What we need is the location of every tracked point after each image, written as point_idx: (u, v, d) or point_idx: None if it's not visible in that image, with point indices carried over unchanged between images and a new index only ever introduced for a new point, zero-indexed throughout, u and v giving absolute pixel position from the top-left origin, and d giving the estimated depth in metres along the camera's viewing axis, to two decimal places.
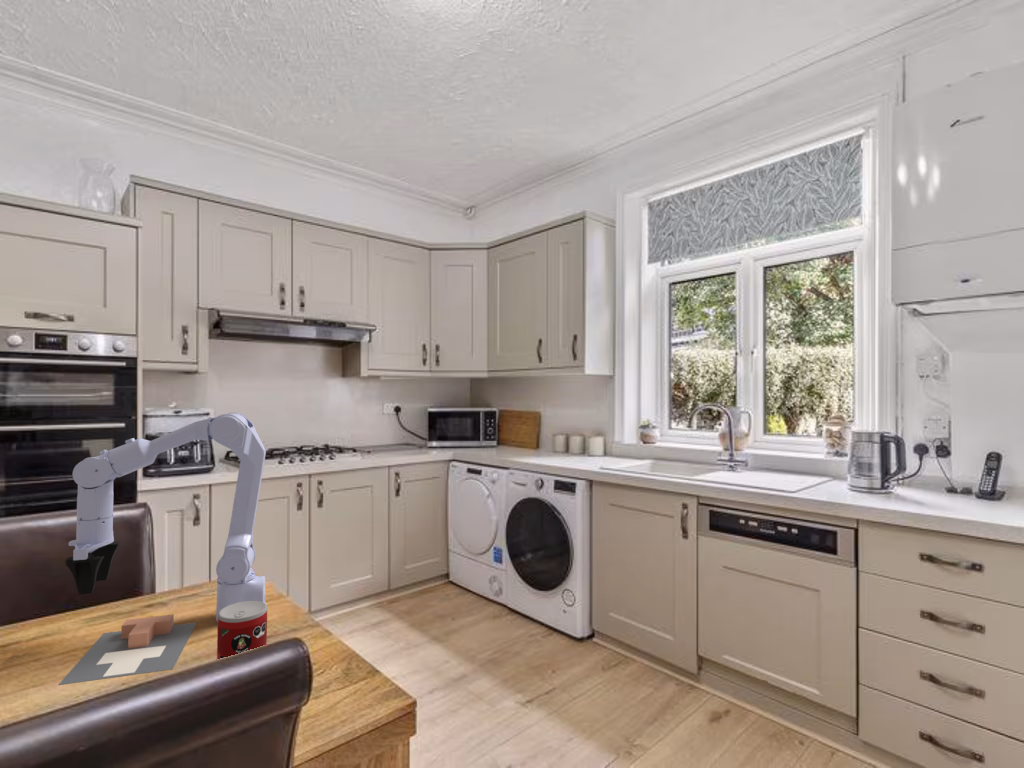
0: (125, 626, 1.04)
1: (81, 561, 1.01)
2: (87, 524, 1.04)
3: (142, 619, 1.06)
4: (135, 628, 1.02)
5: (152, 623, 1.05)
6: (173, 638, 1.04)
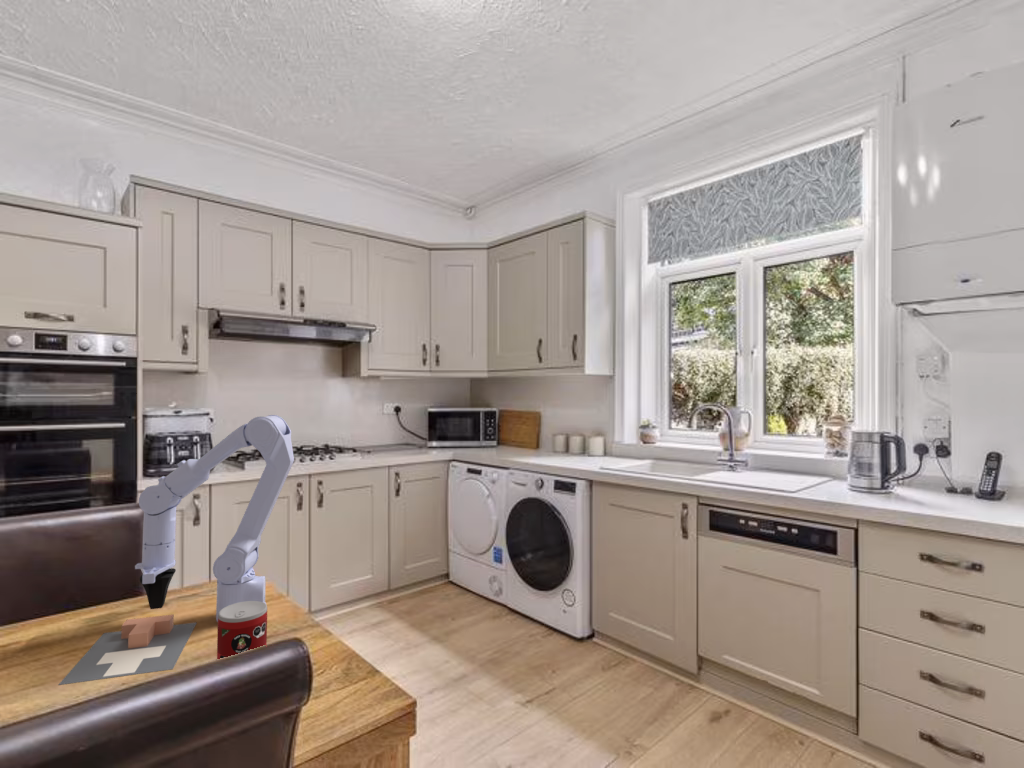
0: (125, 626, 1.04)
1: None
2: (153, 549, 1.10)
3: (142, 619, 1.06)
4: (135, 628, 1.02)
5: (152, 623, 1.05)
6: (173, 638, 1.04)
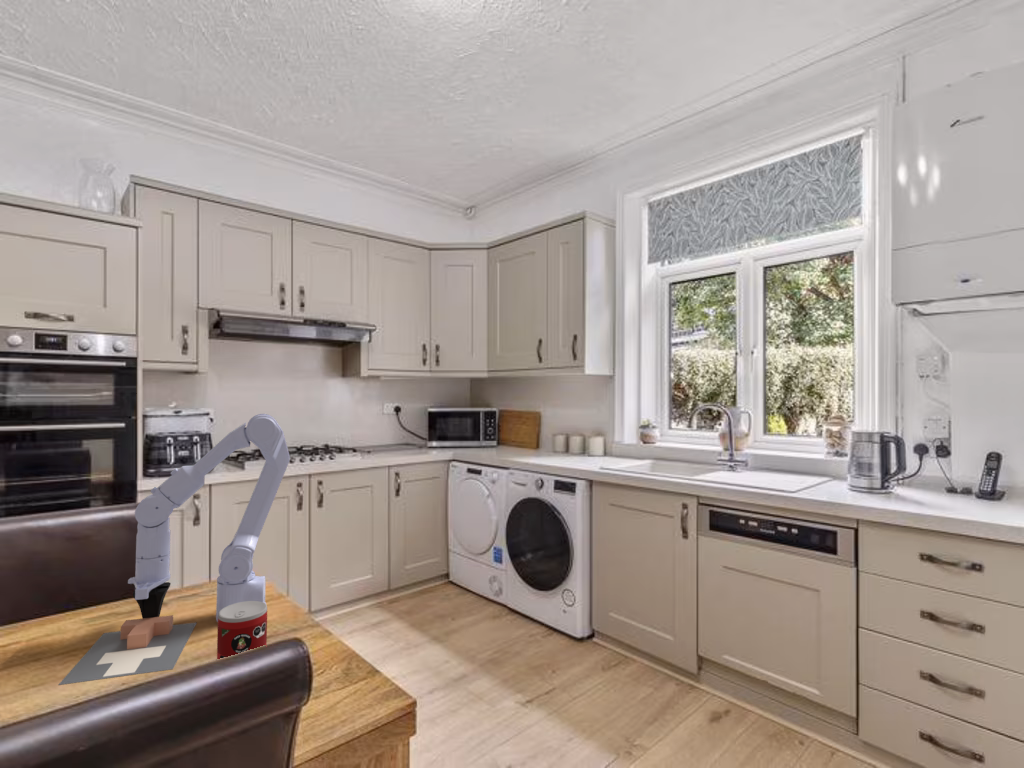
0: (124, 627, 1.03)
1: None
2: (146, 562, 1.06)
3: (142, 620, 1.06)
4: (134, 629, 1.02)
5: (151, 624, 1.04)
6: (173, 638, 1.04)
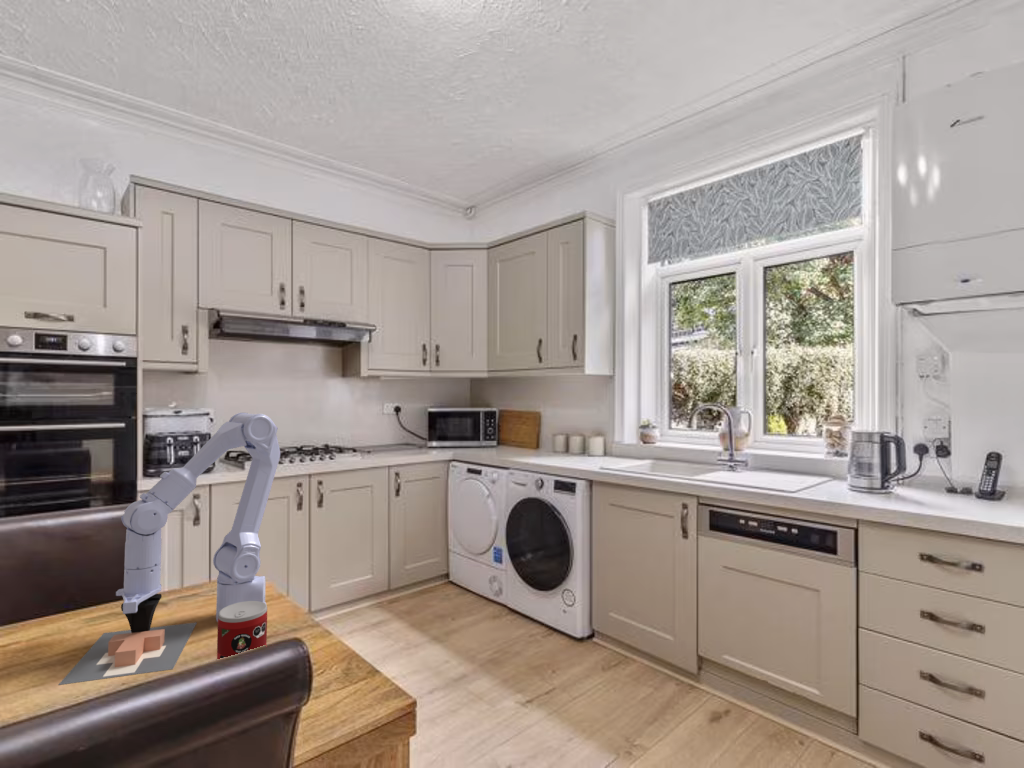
0: (112, 642, 0.97)
1: None
2: (136, 573, 0.99)
3: (131, 634, 1.00)
4: (123, 645, 0.96)
5: (141, 639, 0.98)
6: (173, 638, 1.04)
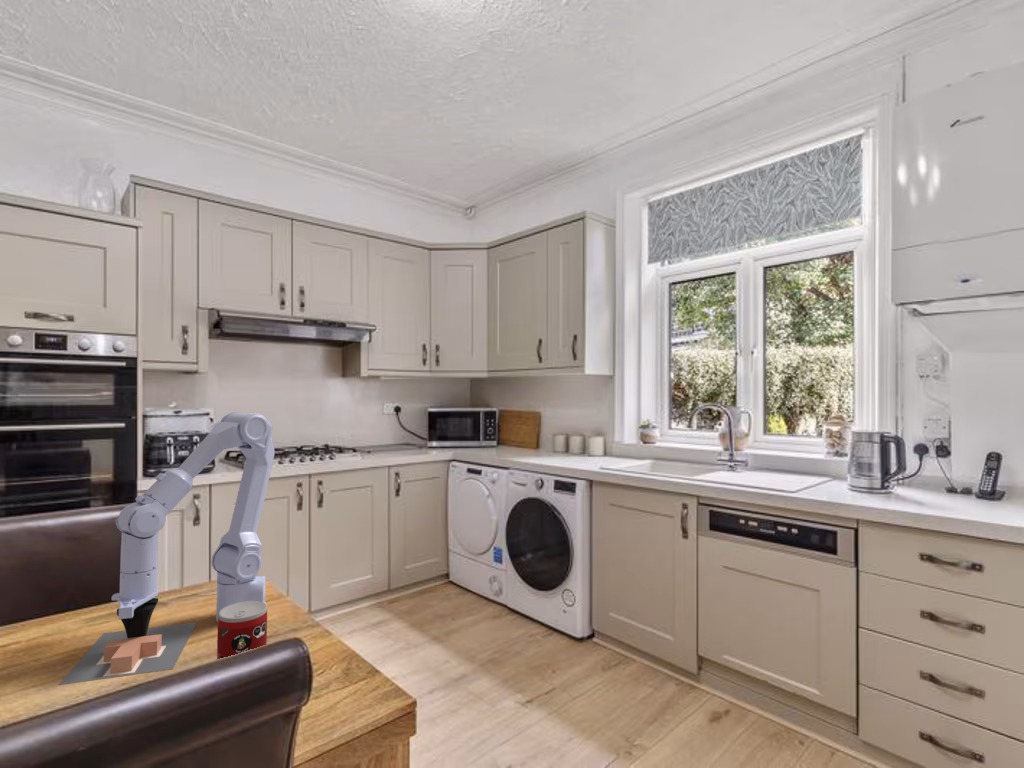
0: (108, 648, 0.95)
1: None
2: (132, 578, 0.97)
3: (127, 639, 0.98)
4: (119, 650, 0.93)
5: (138, 644, 0.96)
6: (173, 638, 1.04)
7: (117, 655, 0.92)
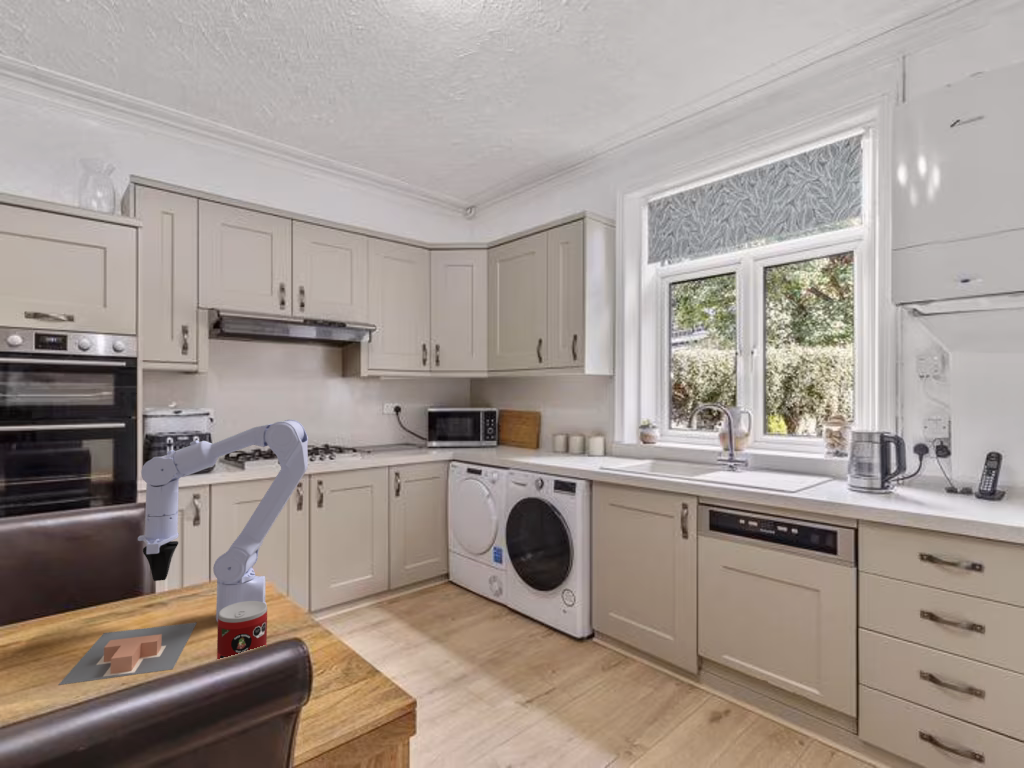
0: (108, 648, 0.95)
1: None
2: (156, 520, 1.10)
3: (127, 639, 0.98)
4: (119, 650, 0.93)
5: (138, 644, 0.96)
6: (173, 638, 1.04)
7: (117, 655, 0.92)
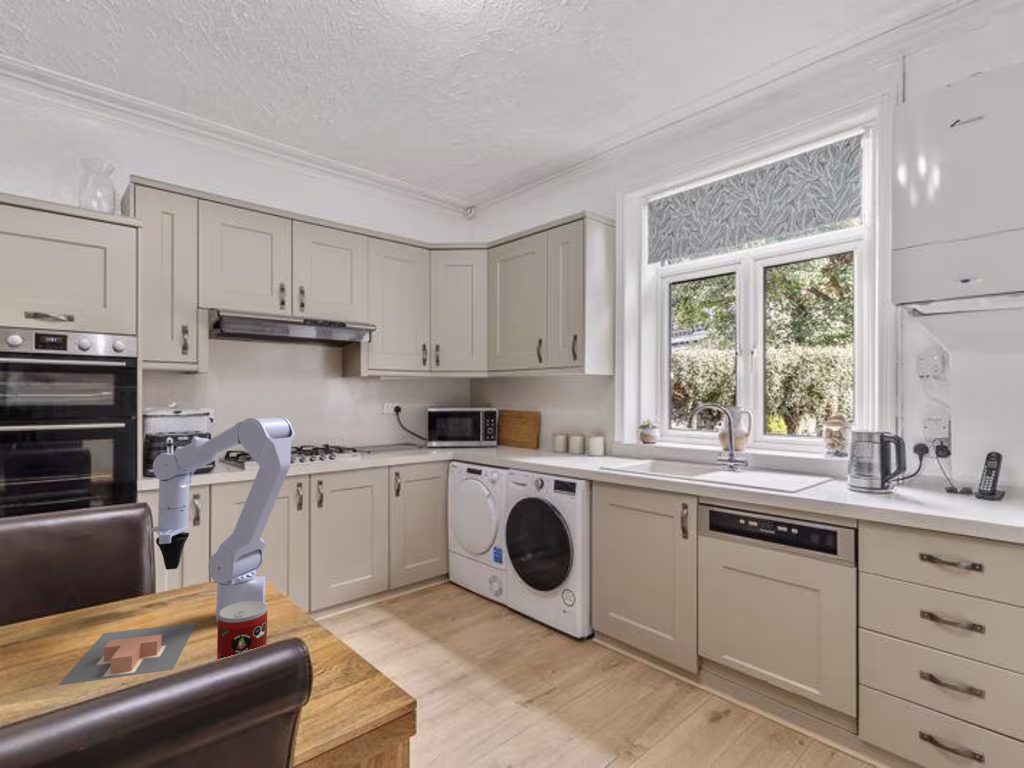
0: (108, 648, 0.95)
1: None
2: (168, 512, 1.17)
3: (127, 639, 0.98)
4: (119, 650, 0.93)
5: (138, 644, 0.96)
6: (173, 638, 1.04)
7: (117, 655, 0.92)
